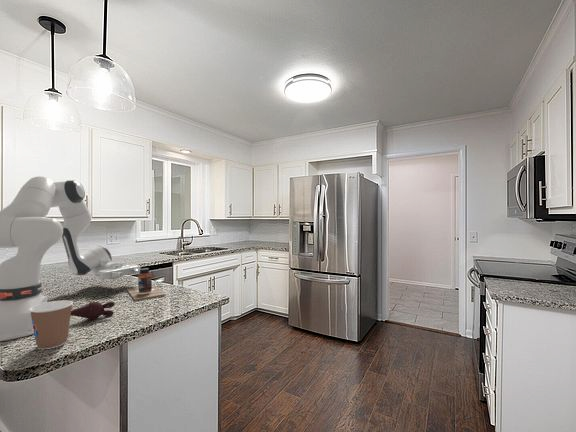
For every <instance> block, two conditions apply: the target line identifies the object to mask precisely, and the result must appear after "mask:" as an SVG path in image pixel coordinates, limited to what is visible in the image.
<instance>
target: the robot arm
mask: <svg viewBox="0 0 576 432" xmlns="http://www.w3.org/2000/svg"><path fill="white" fill-rule="evenodd" d="M85 195H86V192H85V189H84V186H83V185H82V184H81V183H80V182H79V181H77V180H65V181H64V180H63V181H56V182H55V181H52V179H50V178H48V177H45V176H35V177H31V178H30V179H29V180H27V182H25V183H24V184H23V185H22V187H21V188H20V189H19V191H18V192H17V194H16V196H15V197H14V199H13V200H12V202H10V204H8V205H7V206H6V207H4V208H3V209H1V210H0V249H7V248H12V249H13V248H18V249H17V252H16V254H15V256H12V257H10V258H8V259H6V260H4V261H2V262H1V263H0V342H3V341H4V342H5V341H10V340H14V339H18V338H23V337H28V336H31V335H34V329H33V324H32V318H31V312H30V311H29V309H30V308H31V307H33V306H36V305H39V304H43V303H47V302H48V297H47V296H46V295H43V294H42V291H43V289H42V288H43V286H42V282H41V280H40V279H41V278H40V277H41V264H42V260H43V258H44V255H45V254H46V252H47V251H48V250H49V249H50V248H51V247H53V246H54V245H55V244H57V243H58V242H59V241H61V239H62V242H63V244H64V246H63V247H64V249H65V253H66V257H67V259H68V262H67V263H68V269H69V270H70V271H71V273H72V274H73V275H75V276H86V275H87V274H88V273H90V274H91V275H93V276H94V277H96V278H98V279H101V280H106V279H107V280H116V279H119V278H122V277H125V276H127V275H133V274H139V273H140V269H141V266H140V265H139V264H133V263H130V262H113V260H112V254H111V252H110V251H109V250H108V248H106V247H105V246H102V245H95V246H93V247H92V248H90V249H88V250H86V251H85V252H83V253H81V254H80V251H79V246H78V243H77V241H78V238H79V237H80V235H82V233H83V232H84V231H85V230H86V229H87V228H88V227H89V225H90V224H91V222H92V214H91V213H90V210H89V207H88V206H87V204H86V203H85V200H84V199H85ZM51 208H58V210H59V212H60V215H61V217H62V219H63V225H62V223H61V222H60V221H59V220H58V219H56V218H52V217H47V215H48V213H49V211H50V209H51Z"/></svg>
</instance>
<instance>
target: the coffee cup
mask: <svg viewBox="0 0 576 432" xmlns="http://www.w3.org/2000/svg"><path fill="white" fill-rule="evenodd" d="M73 303H74V301H73V300H66V299H65V300H64V299H63V300H53V301H47V303H43V304H39V305H36V306H33V307H31V308H30V309H29V311H30V312H31V318H32V324H33V329H34V334H33V335H34V336H33V337H34V339H35V340H34V341H35V345H36V347H37V349H38V350H40V349H41V350H40V351H42V350H44V349H47V350H52V349H56V348H58V346H59V347H62V346H64V345H65V344H66V343H67V340H68V337H69V330H70V323H71V322H70V321H71V317H72V315H71V311H72V308H73V307H72V305H73ZM55 347H56V348H55ZM51 348H52V349H51Z"/></svg>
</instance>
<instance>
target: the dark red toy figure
mask: <svg viewBox="0 0 576 432" xmlns="http://www.w3.org/2000/svg"><path fill="white" fill-rule="evenodd" d="M115 305H116V303H115V302H114V301H108V302H106V303H100V302H99V301H90V302H89V304H86V305H84V306H80V307H78V308H75V309H71V317H73V316H74V317H79V318H85V319H87V320H88V321H92V320H96V319H98V318H100V317H102V316H105V317H109V316H110V317H111V316H113V315H114V311H113V310H110V308H113V307H115ZM105 309H109V310H105Z"/></svg>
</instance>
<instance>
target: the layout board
mask: <svg viewBox="0 0 576 432" xmlns="http://www.w3.org/2000/svg"><path fill="white" fill-rule="evenodd" d="M126 291H127V293H128V294H129V296H130V297H131V298H132V300H133V301H134V302H137V301H144V300H149V299H154V298H160V297H165V295H166V294H165V293H164V292H163V291H162V290H161V289H160V288H159V287H157V286H156V285H155V284H152V290H151V291H149V292H144V293H141V292H139V287H134V288H133V287H132V288H127V289H126Z"/></svg>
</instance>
